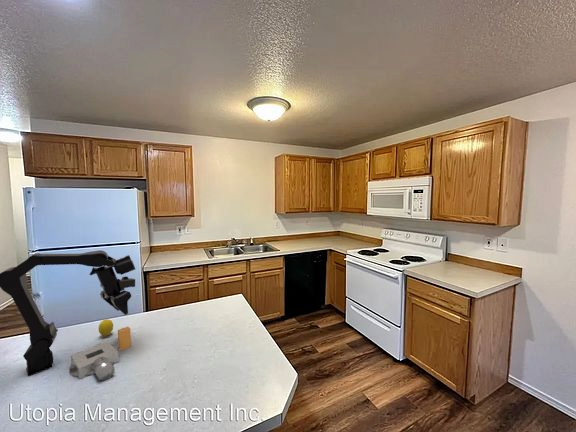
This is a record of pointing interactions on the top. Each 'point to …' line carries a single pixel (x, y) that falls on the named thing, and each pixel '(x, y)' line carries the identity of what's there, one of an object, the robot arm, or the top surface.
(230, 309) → the top surface
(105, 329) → the lemon
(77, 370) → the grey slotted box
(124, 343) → the orange block
